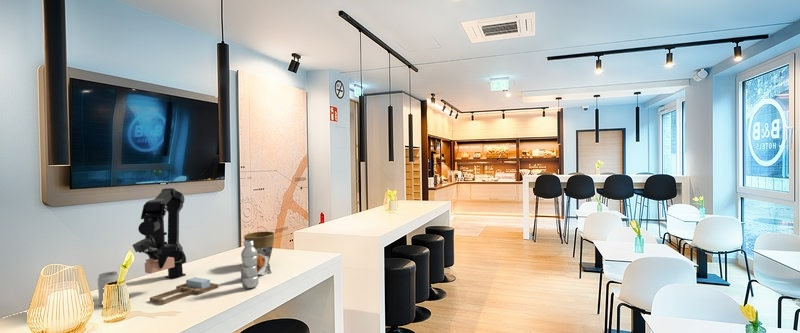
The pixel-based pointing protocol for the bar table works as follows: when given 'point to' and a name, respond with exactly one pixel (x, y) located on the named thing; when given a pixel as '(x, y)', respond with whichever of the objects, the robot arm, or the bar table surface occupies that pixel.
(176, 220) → the robot arm
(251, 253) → the plastic bottle
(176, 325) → the bar table surface
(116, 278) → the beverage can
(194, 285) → the light blue rectangular block
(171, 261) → the block
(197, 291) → the jig
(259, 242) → the plant pot
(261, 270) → the meal
